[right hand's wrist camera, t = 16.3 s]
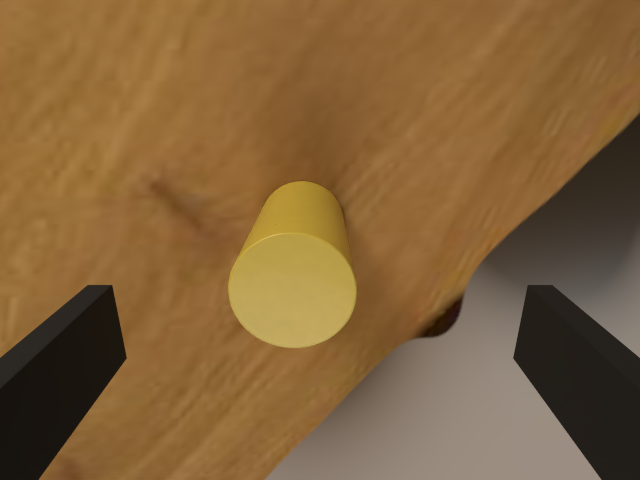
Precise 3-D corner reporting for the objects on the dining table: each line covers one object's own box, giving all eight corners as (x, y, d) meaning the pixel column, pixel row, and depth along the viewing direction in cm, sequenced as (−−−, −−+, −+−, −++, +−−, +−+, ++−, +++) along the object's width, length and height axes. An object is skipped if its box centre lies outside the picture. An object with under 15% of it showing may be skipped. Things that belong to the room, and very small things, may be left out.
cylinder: (243, 220, 29) (201, 292, 18) (302, 163, 28) (291, 205, 17) (302, 274, 30) (293, 370, 20) (360, 222, 29) (384, 295, 18)
